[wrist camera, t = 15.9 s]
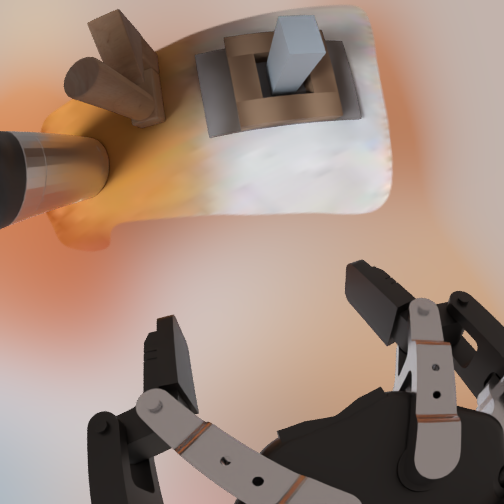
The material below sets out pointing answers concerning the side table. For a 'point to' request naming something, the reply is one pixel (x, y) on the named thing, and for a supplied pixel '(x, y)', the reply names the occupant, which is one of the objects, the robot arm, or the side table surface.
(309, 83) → the wooden socket base
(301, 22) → the rectangular block
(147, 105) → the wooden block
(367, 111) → the side table surface
